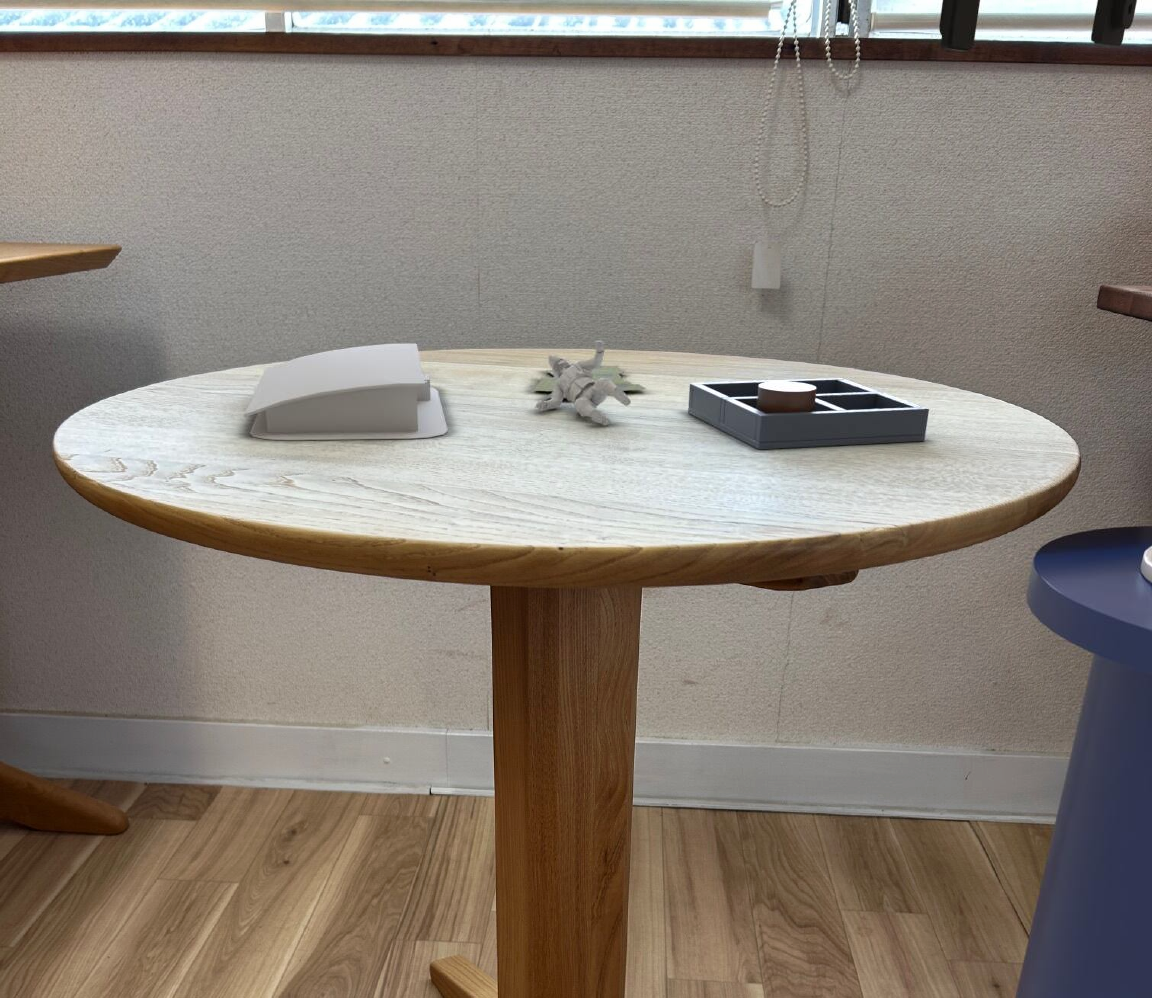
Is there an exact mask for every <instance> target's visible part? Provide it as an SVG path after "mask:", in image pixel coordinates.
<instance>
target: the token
mask: <svg viewBox="0 0 1152 998" xmlns="http://www.w3.org/2000/svg"><path fill="white" fill-rule="evenodd" d="M815 398H816V387H815V386H813V385H810V384H805V383H798V382H784V381H776V382H765V383H761V384H759V385H758V395H757V407H756V409H757V410H759V411H761V412H763V413H766V414H772V413H796V412H814V408H815Z"/></svg>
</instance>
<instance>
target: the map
mask: <svg viewBox="0 0 1152 998" xmlns="http://www.w3.org/2000/svg"><path fill="white" fill-rule="evenodd" d="M545 371H546V372H547V373H549V374H550V375H552V376H553V370H552V369H546V370H545ZM624 372H625V369H620V366H619V365H601V366H600V367H599V368H597V369H595V370H593V371H592V372H590V373H591V374H593V378H592V379H593V380H594V381H595V382H597V381H598V380H599V379H601V378H608V379H610V380H611V381H612V383H614V384H615V385H616V386H617V387H619V388H620V389H622V390H623V392H624V391H625V392H626V391H638V390H640V391H641V390H647V388H646V387H644V386H642V385H641V384H639V383H632V382H630V381H627V380H624V379H622V376H621V373H624ZM539 378H540V381H539V382H538V383H537V386H536V387H535V388H534V389H533V390H534V391H535V392H537V391H538V392H551V393H549V394H548V395H546V396H545V397H544V398H545V399H551V398H552V395H553V388H554V384H555V382H556V379H555V378H554V376H553V377H543V376H542V377H539ZM564 399H567V398H566V397H564Z"/></svg>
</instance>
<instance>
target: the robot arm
mask: <svg viewBox="0 0 1152 998" xmlns="http://www.w3.org/2000/svg"><path fill="white" fill-rule="evenodd" d="M1137 3H1138V0H1097V1H1096V7H1095V12H1094V17H1093V23H1092V28H1091V34H1090V41H1091V42H1093V43H1094V44H1095V45H1100V46H1104V47H1105V46H1106V47H1121V46H1122V43H1123V41H1124V37H1125V31H1126V30H1130V29H1131V27H1132V25H1133V22H1134V17H1135V13H1136V8H1137ZM980 4H981V0H942V2H941V11H940V18H939V27H938V28H939V29H938V30H939V34H940V35H941V38H940V39H941V40H940V45H941V49H943V50H949V51H956V52H969V51H971V50H972V49H973V47H974V45H975V38H976V31H977V24H978V18H979V12H980ZM1141 573H1142V574H1143V575H1144V577H1145V578H1146V579H1147V580H1148V581H1149V582H1150V583H1152V546H1151V547H1149V548H1148V549H1147V550H1146V551H1145V552H1144V556H1143V560H1142V563H1141Z"/></svg>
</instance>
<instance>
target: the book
mask: <svg viewBox="0 0 1152 998" xmlns="http://www.w3.org/2000/svg"><path fill="white" fill-rule="evenodd" d="M254 414H255V415H256V416H255V418H254V422H253V424H252V426H251V429H250V431H249V434H250V435H251V436H252V437H254V438H259V439H263V440H269V441H270V440H271V441H272V440H273V441H274V440H275V441H327V440H328V441H330V440H331V441H332V440H333V441H336V440H340V441H342V440H413V439H426V438H427V439H429V438H433V437H438V436H439V437H440V436H443V435H445V434H446V433H447V432H448V431H449V430H448V426H447V422H446V418H445V414H444V410H443V406H442V403H441V399H440V394H439V390H438V389H436V388H434V387H433V386H431V379H430V375H429V373H424V372H423V367H422V362H421V358H420V353H419V349H418V344H417V343H415V342H414V343H383V344H374V345H373V344H372V345H362V346H354V347H348V348H340V349H333V350H327V351H321V352H317V353H313V354H309V355H308V354H307V355H304V356H300V357H296V358H292V359H290V360H287V361H284V362H282V363H279V364H275V365H273V366H270V367H268V368H265V369H264V371H263V373H262V376H261V377H260V379H259V382H258V384H257V386H256V389H255V390H254V393H253V395H252V396H251V399H250V401H249V403H248V406H247V408H246V410H245V412H244V415H243V416H244V418H246V417H249V416H252V415H254Z"/></svg>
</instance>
